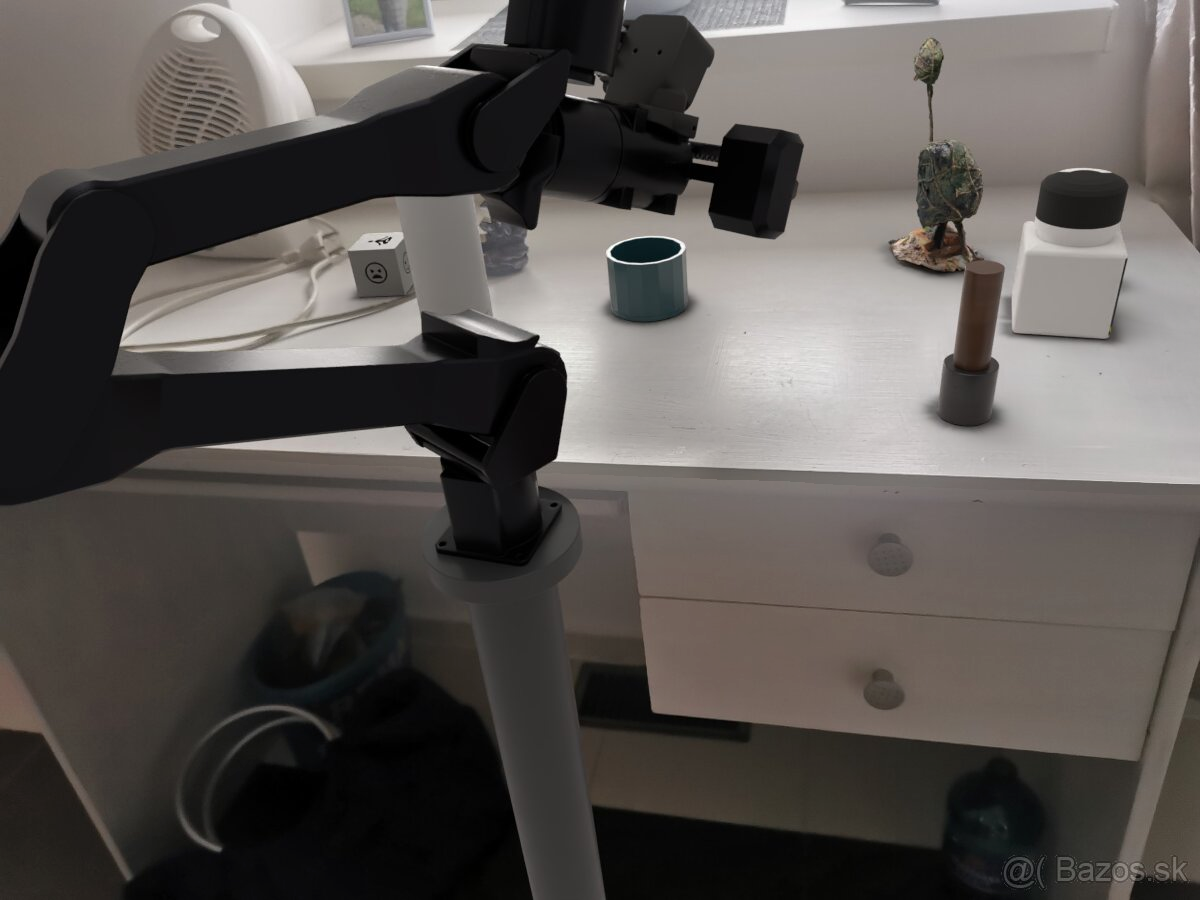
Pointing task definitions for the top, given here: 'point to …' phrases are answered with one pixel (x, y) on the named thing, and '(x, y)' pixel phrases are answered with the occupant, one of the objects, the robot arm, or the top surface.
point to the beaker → (647, 278)
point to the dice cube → (381, 265)
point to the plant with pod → (941, 188)
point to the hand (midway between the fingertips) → (741, 180)
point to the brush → (973, 349)
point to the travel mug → (445, 254)
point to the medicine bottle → (1072, 256)
